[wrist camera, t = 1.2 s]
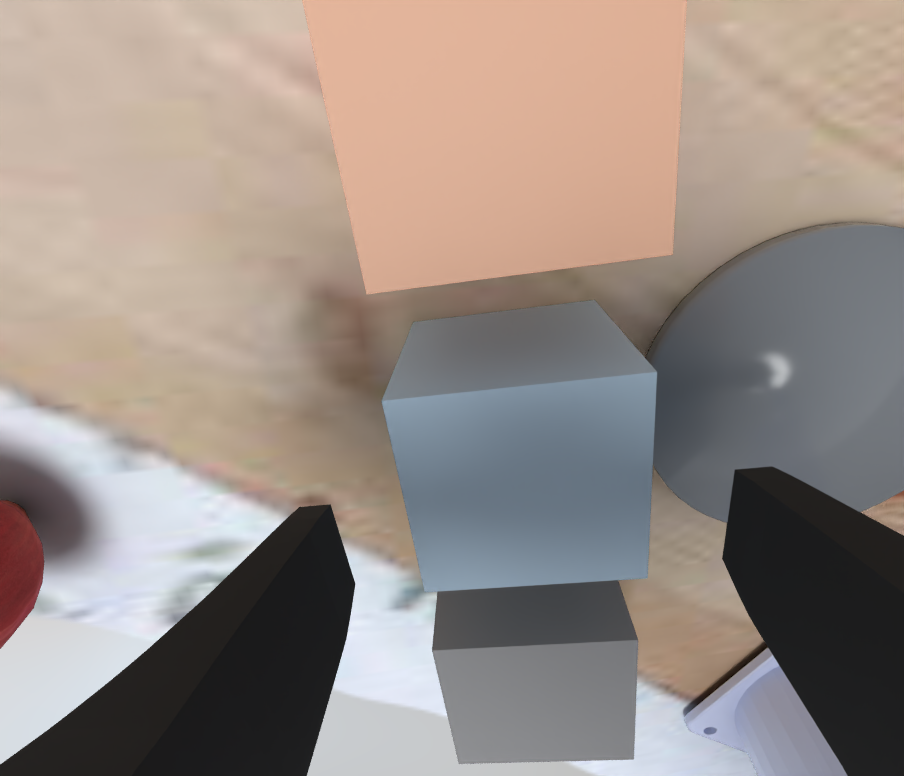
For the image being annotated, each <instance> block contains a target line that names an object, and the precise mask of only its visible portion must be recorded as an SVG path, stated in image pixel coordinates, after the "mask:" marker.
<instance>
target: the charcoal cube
mask: <svg viewBox="0 0 904 776" xmlns="http://www.w3.org/2000/svg"><path fill="white" fill-rule="evenodd" d="M432 652H433V656H434V660H435V664H436V669H437V673H438V677H439V681H440V686H441V690H442V694H443V698H444V703H445V707H446V711H447V715H448V720H449V724H450V728H451V732H452V736H453V741H454V745H455V749H456V754H457V758H458V762H459V764H474V763H508V762H509V763H511V762H550V761H590V760H629V759H634V741H635V713H636V686H637V659H638V638H637V635H636V632H635V629H634V626H633V623H632V620H631V617H630V614H629V611H628V609H627V606H626V603H625V600H624V597H623V594H622V591H621V588H620V585H619V582H618V580H613V581H597V582H581V583H565V584H549V585H533V586H517V587H501V588H485V589H469V590H454V591H438V593H437V603H436V614H435V625H434V636H433V647H432Z"/></svg>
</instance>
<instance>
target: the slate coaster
mask: <svg viewBox="0 0 904 776" xmlns="http://www.w3.org/2000/svg"><path fill="white" fill-rule="evenodd" d="M646 360H647V361H648V362H649V363H650V364H651V365H652V367H653V368H654V369H655V370H656V371H657V384H656V405H655V427H654V449H653V465H654V467H655V468H656V470H657V472H658V473H659V475H660V476H661V478H662V479H663V481H664V482H665V483H666V485H667V486H668V487H669V488H670V489H671V490H672V491H673V492H674V493H675V494H676V495H677V496H678V497H679V498H680V499H681V500H683V501H684V502H685V503H687V504H688V505H689V506H691V507H692V508H694V509H696V510H698V511H699V512H701V513H703V514H705V515H707V516H710V517H712V518H715V519H717V520H720V521H723V522H728V514H729V507H730V500H731V493H732V485H733V478H734V471H735V469H747V468H758V467H770V466H773V467H775V468H777V469H779V470H781V471H783V472H785V473H787V474H789V475H791V476H793V477H795V478H797V479H799V480H801V481H803V482H805V483H807V484H809V485H810V486H812V487H814V488H816V489H818V490H820V491H822V492H823V493H825V494H827V495H829V496H831V497H833V498H835V499H836V500H838V501H840V502H842V503H844V504H846V505H847V506H849V507H851V508H853V509H855V510H857V511H858V512H861V511H863V510H866V509H868V508H870V507H873V506H875V505H877V504H879V503H882V502H883V501H885V500H887V499H889V498H891V497H893V496H894V495H896V494H898V493H900V492H902V491H903V490H904V228H899V227H892V226H886V225H878V224H871V223H835V224H827V225H819V226H813V227H809V228H805V229H801V230H797V231H793V232H790V233H787V234H784V235H782V236H779V237H776V238H774V239H771V240H768V241H766V242H763V243H761V244H759V245H757V246H755V247H753V248H751V249H749V250H747V251H746V252H744V253H742V254H740V255H738V256H737V257H735V258H734V259H732V260H731V261H729V262H727V263H726V264H724V265H723V266H721V267H720V268H718V269H717V270H716V271H715V272H713V273H712V274H711V275H710V276H708V277H707V278H706V279H705V280H703V281H702V282H701V283H700V284H699V285H698V286H696V287H695V288H694V289H693V290H692V291H691V292H690V293H689V294H688V295H687V296H686V297H685V298H684V299H683V300H682V301H681V303H680V304H679V305H678V306H677V308H676V309H675V310H674V311H673V313H672V314H671V315H670V316H669V317H668V319H667V320H666V322H665V323H664V325H663V326H662V328H661V330H660V331H659V333H658V334H657V336H656V337H655V339H654V341H653V343H652V346H651V348H650V350H649V352H648V354H647V356H646Z"/></svg>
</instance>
